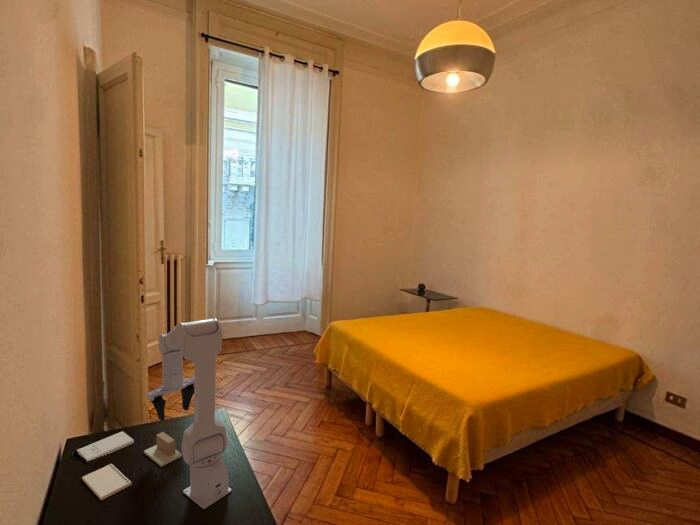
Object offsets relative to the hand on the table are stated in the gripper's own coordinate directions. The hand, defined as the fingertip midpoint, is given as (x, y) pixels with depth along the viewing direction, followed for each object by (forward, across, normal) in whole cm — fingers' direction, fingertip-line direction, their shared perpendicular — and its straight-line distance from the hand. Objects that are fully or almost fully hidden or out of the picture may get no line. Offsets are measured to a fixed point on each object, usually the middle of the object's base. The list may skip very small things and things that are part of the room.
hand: (173, 414), depth 115 cm
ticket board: (+9, +20, +3) cm, 22 cm away
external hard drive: (+10, +14, -14) cm, 22 cm away
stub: (+9, +5, +3) cm, 11 cm away
